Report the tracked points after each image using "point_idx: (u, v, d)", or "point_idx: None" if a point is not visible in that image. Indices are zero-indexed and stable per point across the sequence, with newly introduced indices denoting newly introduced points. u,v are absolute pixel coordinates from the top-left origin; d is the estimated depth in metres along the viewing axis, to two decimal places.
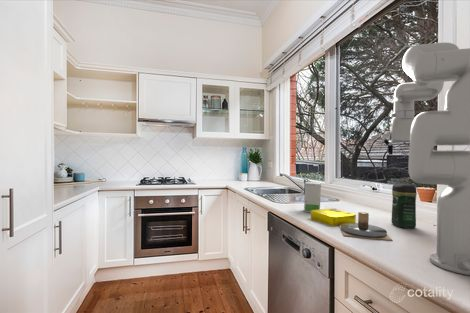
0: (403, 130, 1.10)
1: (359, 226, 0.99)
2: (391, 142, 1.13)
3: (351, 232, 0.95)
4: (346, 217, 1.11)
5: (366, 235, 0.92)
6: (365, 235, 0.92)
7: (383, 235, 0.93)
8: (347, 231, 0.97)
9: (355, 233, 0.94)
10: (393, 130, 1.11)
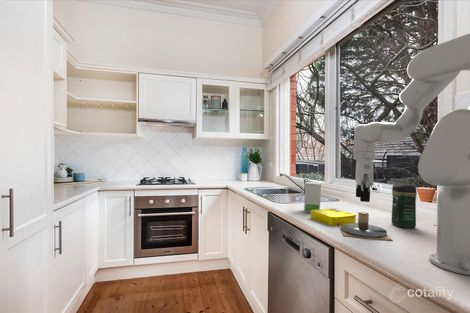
0: None
1: (359, 226, 0.99)
2: None
3: (351, 232, 0.95)
4: (346, 217, 1.11)
5: (366, 235, 0.92)
6: (365, 235, 0.92)
7: (383, 235, 0.93)
8: (347, 231, 0.97)
9: (355, 233, 0.94)
10: (372, 174, 0.95)
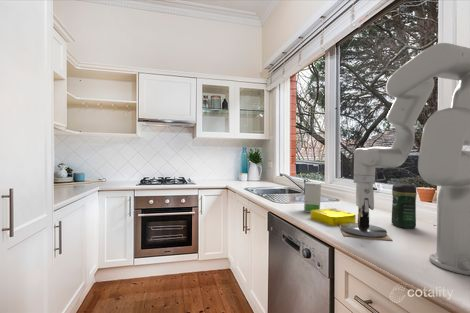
0: None
1: (359, 226, 0.99)
2: None
3: (351, 232, 0.95)
4: (346, 217, 1.11)
5: (366, 235, 0.92)
6: (365, 235, 0.92)
7: (383, 235, 0.93)
8: (347, 231, 0.97)
9: (355, 233, 0.94)
10: (373, 198, 0.95)
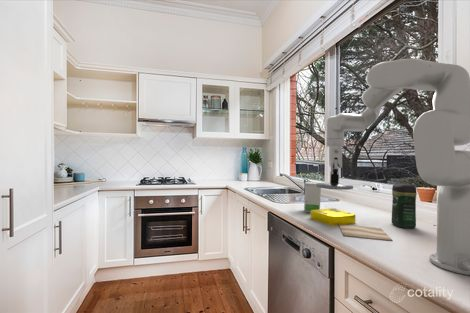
0: None
1: (330, 182, 1.17)
2: None
3: (323, 186, 1.13)
4: (346, 217, 1.11)
5: (334, 187, 1.10)
6: (334, 187, 1.10)
7: (349, 188, 1.10)
8: (320, 186, 1.14)
9: (326, 186, 1.12)
10: (341, 157, 1.12)
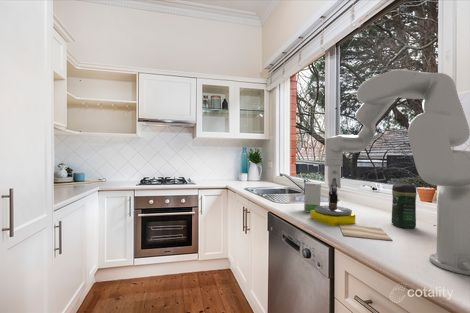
0: None
1: (329, 207, 1.17)
2: (336, 191, 1.14)
3: (321, 211, 1.13)
4: (346, 217, 1.11)
5: (333, 213, 1.10)
6: (332, 213, 1.10)
7: (347, 213, 1.11)
8: (318, 211, 1.15)
9: (324, 212, 1.12)
10: None
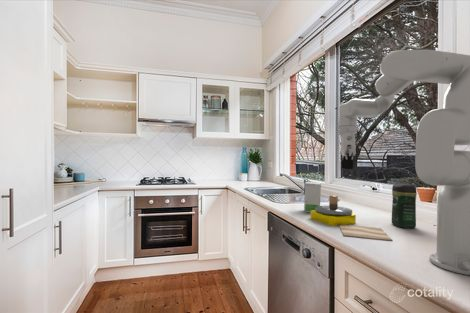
0: None
1: (330, 207, 1.17)
2: None
3: (322, 211, 1.13)
4: (346, 217, 1.11)
5: (334, 213, 1.10)
6: (333, 213, 1.10)
7: (348, 213, 1.11)
8: (319, 211, 1.15)
9: (325, 212, 1.12)
10: None
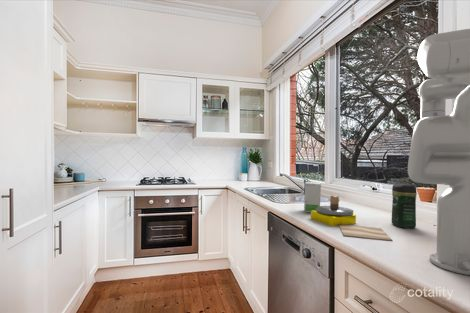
0: None
1: (331, 207, 1.17)
2: None
3: (323, 211, 1.13)
4: (346, 217, 1.11)
5: (335, 213, 1.10)
6: (334, 213, 1.10)
7: (349, 214, 1.10)
8: (320, 211, 1.14)
9: (326, 212, 1.11)
10: None
